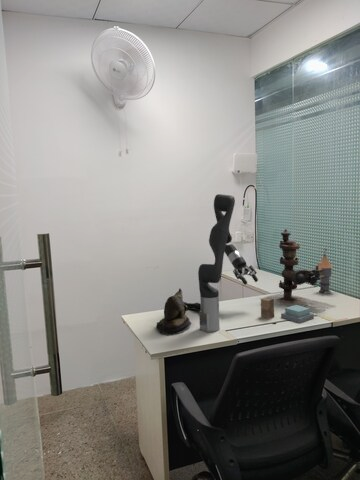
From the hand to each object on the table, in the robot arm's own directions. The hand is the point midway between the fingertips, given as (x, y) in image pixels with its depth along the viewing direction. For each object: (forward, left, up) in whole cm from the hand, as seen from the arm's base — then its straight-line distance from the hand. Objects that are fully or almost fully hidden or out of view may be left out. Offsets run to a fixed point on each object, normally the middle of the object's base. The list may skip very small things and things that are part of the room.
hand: (251, 282), depth 217 cm
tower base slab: (+10, -24, -18) cm, 31 cm away
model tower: (+66, -3, -17) cm, 68 cm away
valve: (+34, -5, -18) cm, 39 cm away
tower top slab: (+10, -24, -15) cm, 30 cm away
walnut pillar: (0, -12, -17) cm, 21 cm away
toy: (-21, +26, -18) cm, 38 cm away
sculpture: (-49, +9, -18) cm, 53 cm away
